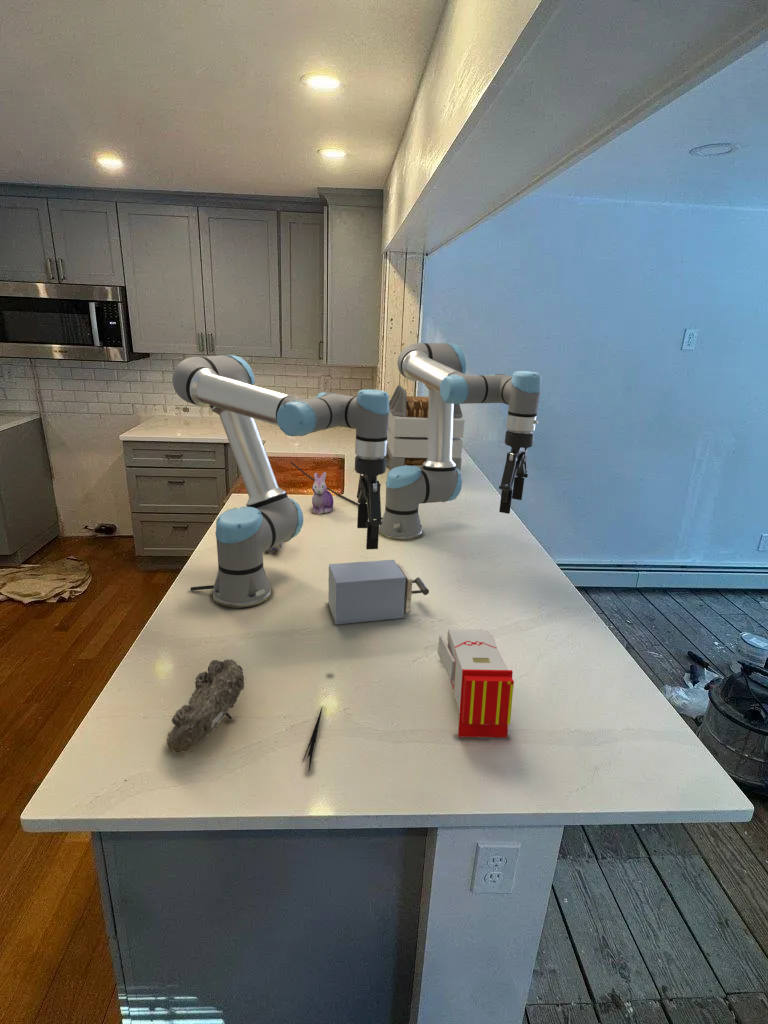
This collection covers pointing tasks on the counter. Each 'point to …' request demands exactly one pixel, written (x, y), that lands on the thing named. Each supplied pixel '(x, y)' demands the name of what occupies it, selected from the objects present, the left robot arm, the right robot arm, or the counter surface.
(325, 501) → the figurine
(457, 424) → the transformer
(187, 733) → the fossil
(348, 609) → the cabinet
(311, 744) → the feather
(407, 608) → the drawer
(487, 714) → the toy
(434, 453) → the right robot arm
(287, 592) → the counter surface
